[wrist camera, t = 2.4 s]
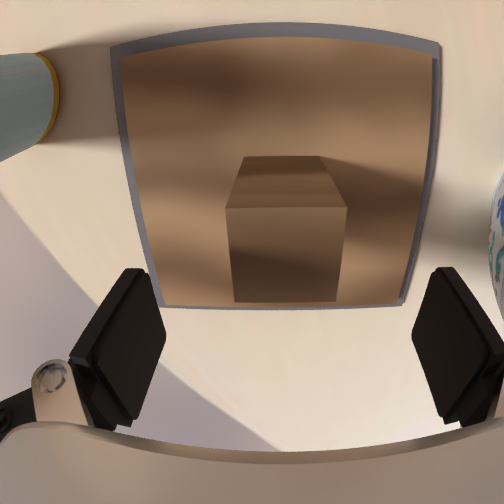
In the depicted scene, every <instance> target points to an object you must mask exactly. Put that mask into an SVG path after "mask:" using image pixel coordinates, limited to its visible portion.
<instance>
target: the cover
mask: <svg viewBox="0 0 504 504" xmlns="http://www.w3.org/2000/svg"><path fill="white" fill-rule="evenodd" d="M120 67H121V78H122V88H123V98H124V106H125V114H126V122H127V129H128V136H129V143H130V149H131V155H132V161H133V167H134V173H135V178H136V184H137V189H138V194H139V199H140V204H141V209H142V214H143V218H144V223H145V227H146V232H147V236H148V241H149V245H150V249H151V253H152V257H153V261H154V265H155V269H156V273H157V277H158V280H159V284H160V288H161V292H162V295H163V299H164V302H165V305H179V306H210V307H328V306H359V305H381V304H396V303H397V299H398V296H399V293H400V289H401V286H402V282H403V278H404V274H405V271H406V267H407V263H408V259H409V255H410V250H411V246H412V242H413V237H414V232H415V228H416V223H417V218H418V212H419V207H420V201H421V195H422V189H423V183H424V176H425V168H426V160H427V152H428V142H429V131H430V118H431V99H432V54H429V53H425V52H420V51H416V50H411V49H406V48H401V47H395V46H390V45H383V44H377V43H370V42H362V41H353V40H343V39H331V38H314V37H257V38H239V39H227V40H217V41H208V42H200V43H193V44H186V45H180V46H174V47H168V48H163V49H158V50H153V51H148V52H144V53H139V54H135V55H131V56H127V57H123V58H120Z"/></svg>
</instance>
